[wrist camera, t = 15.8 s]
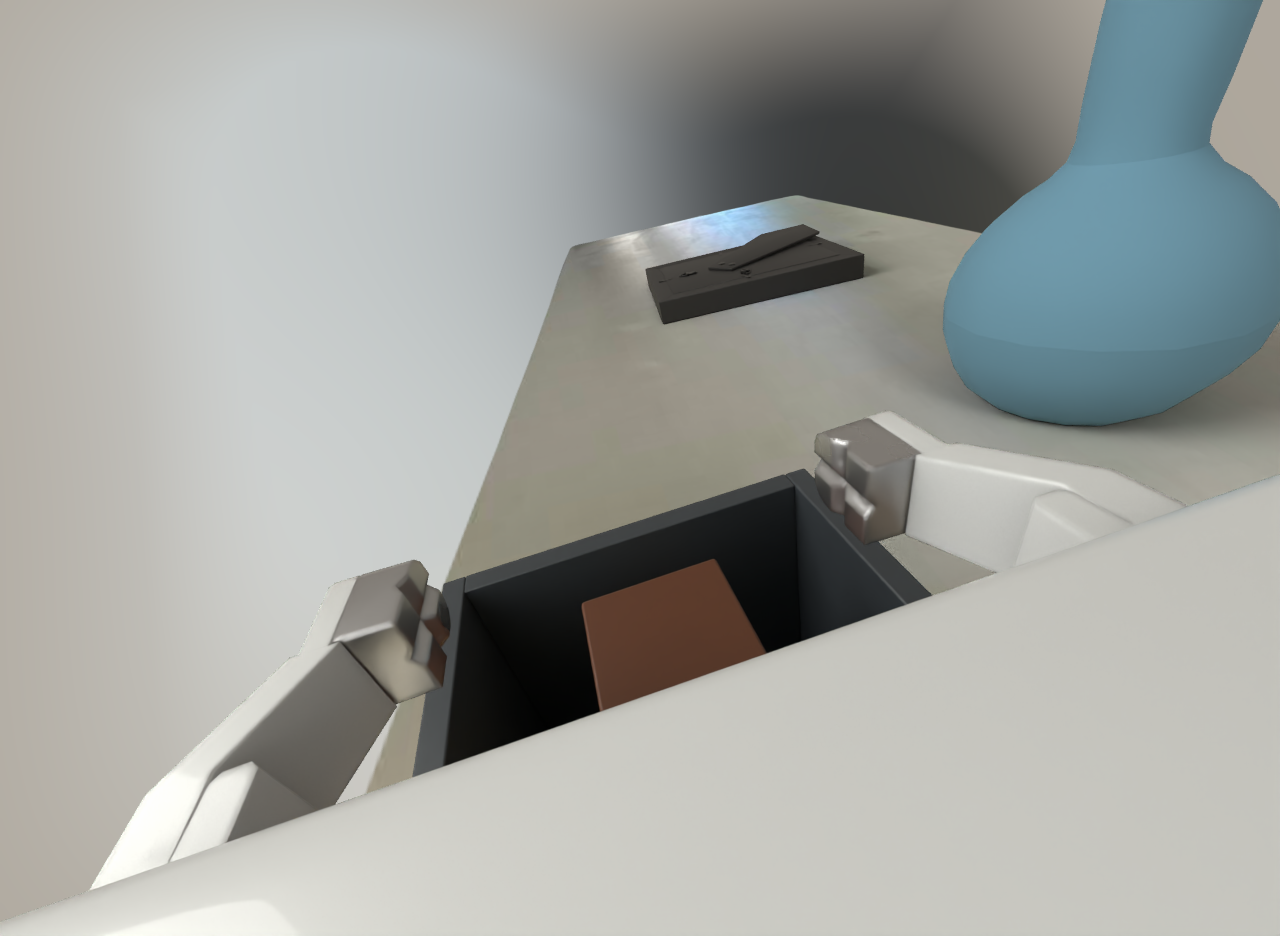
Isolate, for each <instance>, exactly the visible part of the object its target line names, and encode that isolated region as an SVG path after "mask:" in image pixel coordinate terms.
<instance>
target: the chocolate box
mask: <svg viewBox="0 0 1280 936" xmlns="http://www.w3.org/2000/svg"><path fill="white" fill-rule="evenodd" d="M582 612H583V618H584V624H585V629H586V635H587V641H588V646H589V652H590V658H591V664H592V669H593V675H594V681H595V687H596V692H597V698H598V704H599V709H600V712H601V711H604V710H607V709H610V708H612V707H615V706H618V705H621V704H624V703H627V702H630V701H632V700H635V699H638V698H641V697H644V696H647V695H650V694H652V693H655V692H658V691H661V690H664V689H667V688H670V687H672V686H675V685H678V684H681V683H684V682H687V681H690V680H692V679H695V678H698V677H701V676H704V675H707V674H710V673H712V672H715V671H718V670H721V669H724V668H727V667H730V666H732V665H735V664H738V663H741V662H744V661H747V660H749V659H752V658H755V657H758V656H761V655H764V654H767V652H766V650H765V649H764V647H763V645H762V643H761V641H760V639H759V638H758V636H757V634H756V632H755V630H754V628H753V627H752V625H751V623H750V621H749V619H748V617H747V616H746V614H745V612H744V610H743V608H742V607H741V605H740V603H739V601H738V599H737V597H736V596H735V594H734V592H733V590H732V588H731V586H730V585H729V583H728V581H727V579H726V577H725V575H724V574H723V572H722V570H721V568H720V566H719V564H718V563H717V561H716V560H715V559H711V560H708V561H705V562H702V563H699V564H696V565H693V566H690V567H687V568H684V569H681V570H678V571H675V572H672V573H669V574H666V575H663V576H660V577H657V578H654V579H651V580H649V581H646V582H643V583H640V584H637V585H634V586H631V587H628V588H625V589H622V590H619V591H616V592H613V593H610V594H607V595H604V596H601V597H598V598H595V599H592V600H589V601H586V602H584V603H582Z"/></svg>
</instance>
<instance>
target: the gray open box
mask: <svg viewBox="0 0 1280 936" xmlns="http://www.w3.org/2000/svg"><path fill="white" fill-rule="evenodd" d="M711 559H715V560H716V561H717V563H718V564H719V566H720V568H721V570H722V572H723V574H724V575H725V577H726V579H727V581H728V583H729V585H730V586H731V588H732V590H733V592H734V594H735V596H736V597H737V599H738V601H739V603H740V605H741V607H742V608H743V610H744V612H745V614H746V616H747V617H748V619H749V621H750V623H751V625H752V627H753V628H754V630H755V632H756V634H757V636H758V638H759V639H760V641H761V643H762V645H763V647H764V649H765V650H766V652H767V653H770V652H772V651H775V650H778V649H781V648H784V647H787V646H790V645H792V644H795V643H798V642H801V641H804V640H807V639H810V638H812V637H815V636H818V635H821V634H824V633H827V632H830V631H832V630H835V629H838V628H841V627H844V626H847V625H850V624H852V623H855V622H858V621H861V620H864V619H867V618H870V617H873V616H875V615H878V614H881V613H884V612H887V611H890V610H893V609H895V608H898V607H901V606H904V605H907V604H910V603H913V602H915V601H918V600H921V599H924V598H927V597H930V596H932V595H931V594H930V593H929V592H928V591H927V590H926V589H925V588H924V587H923V586H922V585H921V584H920V583H919V582H918V581H917V580H916V579H915V578H914V577H913V576H912V575H911V574H910V573H909V572H908V571H907V570H906V569H905V568H904V567H903V566H902V565H901V564H900V563H899V562H898V561H897V560H896V559H895V558H894V557H893V556H892V555H891V554H890V553H889V552H888V551H887V550H886V549H885V548H884V547H883V546H882V545H881V544H880V543H879V542H878V541H877V542H874V543H871V544H867V545H864V544H863V543H862V542H861V541H860V540H859V539H858V538H857V537H856V536H855V535H854V534H853V533H852V532H851V531H850V530H849V529H848V528H847V527H846V526H845V525H844V515H842V514H838V513H835V512H832V511H831V510H830V509H829V508H828V507H827V506H826V505H825V504H824V502H823V501H822V499H821V497H820V496H819V493H818V490H817V487H816V484H815V479H814V478H813V477H812V476H811V475H810V474H809V473H808V472H807V471H806V470H805V469H801V470H797V471H794V472H791V473H788V474H786V476H785V475H781V476H777V477H774V478H771V479H768V480H765V481H762V482H759V483H756V484H753V485H749V486H746V487H743V488H740V489H737V490H734V491H731V492H728V493H724V494H721V495H718V496H715V497H712V498H709V499H706V500H703V501H700V502H696V503H693V504H690V505H687V506H684V507H681V508H678V509H675V510H671V511H668V512H665V513H662V514H659V515H656V516H653V517H650V518H647V519H643V520H640V521H637V522H634V523H631V524H628V525H625V526H622V527H619V528H615V529H612V530H609V531H606V532H603V533H600V534H597V535H594V536H590V537H587V538H584V539H581V540H578V541H575V542H572V543H569V544H566V545H562V546H559V547H556V548H553V549H550V550H547V551H544V552H541V553H538V554H534V555H531V556H528V557H525V558H522V559H519V560H516V561H513V562H509V563H506V564H503V565H500V566H497V567H494V568H491V569H488V570H485V571H481V572H478V573H475V574H472V575H469V576H467V577H466V578H465V577H463V578H460V579H457V580H454V581H451V582H447V583H445V584H444V585H443V591H442V595H443V597H444V598H445V601H446V603H447V606H448V609H449V614H450V621H451V628H450V637H449V638H448V639H447V641H446V642H445V643H444V645H443V646H442V647H441V648H442V650H443V651H444V652H445V654H446V655H447V660H446V668H445V675H444V682H443V687H442V688H439V689H436V690H434V691H431V692H428V693H426V696H425V702H424V708H423V715H422V721H421V727H420V733H419V739H418V746H417V752H416V758H415V764H414V770H413V776H412V777H415V776H418V775H421V774H424V773H427V772H430V771H432V770H435V769H438V768H441V767H444V766H447V765H450V764H452V763H455V762H458V761H461V760H464V759H467V758H470V757H472V756H475V755H478V754H481V753H484V752H487V751H490V750H492V749H495V748H498V747H501V746H504V745H507V744H510V743H512V742H515V741H518V740H521V739H524V738H527V737H530V736H532V735H535V734H538V733H541V732H544V731H547V730H550V729H552V728H555V727H558V726H561V725H564V724H567V723H570V722H572V721H575V720H578V719H581V718H584V717H587V716H590V715H592V714H595V713H598V712H600V709H599V704H598V698H597V692H596V687H595V681H594V675H593V669H592V664H591V658H590V652H589V646H588V641H587V635H586V629H585V624H584V618H583V612H582V603H584V602H586V601H589V600H592V599H595V598H598V597H601V596H604V595H607V594H610V593H613V592H616V591H619V590H622V589H625V588H628V587H631V586H634V585H637V584H640V583H643V582H646V581H649V580H651V579H654V578H657V577H660V576H663V575H666V574H669V573H672V572H675V571H678V570H681V569H684V568H687V567H690V566H693V565H696V564H699V563H702V562H705V561H708V560H711Z"/></svg>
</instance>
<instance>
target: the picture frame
mask: <svg viewBox="0 0 1280 936" xmlns="http://www.w3.org/2000/svg"><path fill="white" fill-rule="evenodd" d="M817 234H819V231H817V230H815V229H812V228H810V227H808V226H806V225H804V224H802V225H798V226H794V227H790V228H786V229H782V230H777V231H773V232H769V233H765V234H761V235H759V236H758V237H756V238H755V239H753V240H751V241H750V242H748V243H747V244H745V245H743V246H739V247H735V248H731V249H726V250H722V251H718V252H714V253H710V254H706V255H701V256H697V257H693V258H689V259H685V260H681V261H676V262H672V263H668V264H664V265H660V266H656V267H652V268H647V269H645V270H646V275H647V280H648V285H649V288H650V291H651V293H652V296H653V299H654V301H655V304H656V306H657V309H658V312H659V314H660V317H661V320H662V322H663V324H666V323H670V322H674V321H678V320H683V319H687V318H691V317H696V316H700V315H704V314H708V313H713V312H717V311H721V310H726V309H730V308H734V307H738V306H743V305H747V304H751V303H756V302H760V301H764V300H768V299H773V298H777V297H781V296H786V295H790V294H794V293H798V292H803V291H807V290H811V289H816V288H820V287H824V286H828V285H833V284H837V283H841V282H846V281H850V280H854V279H858V278H863V271H864V254H862V253H860V252H857V251H855V250H852V249H849V248H847V247H844V246H841V245H839V244H836V243H833V242H831V241H828V240H825V239H823V238H820V237H817V236H815V235H817Z"/></svg>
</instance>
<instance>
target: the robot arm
mask: <svg viewBox="0 0 1280 936" xmlns="http://www.w3.org/2000/svg"><path fill="white" fill-rule="evenodd" d="M814 452H815V453H816V454H817V455H818V456H819V457H820V458H821V460H820V462H819V463H818V465H817V467H816V468H815V484H816V487H817V490H818V493H819V496H820V497H821V499H822V501H823V502H824V504H825V505H826V506H827V507H828V508H829V509H830V510H831V511H832V512H835V513H838V514H842V515H844V525H845V526H846V527H847V528H848V529H849V530H850V531H851V532H852V533H853V534H854V535H855V536H856V537H857V538H858V539H859V540H860V541H861V542H862V543H863V544H864V545H867V544H871V543H874V542H877V541H880V540H884V539H887V538H890V537H893V536H897V535H900V534H903V533H905V535H907V536H909V537H912V538H914V539H916V540H919V541H921V542H923V543H926V544H928V545H931V546H933V547H935V548H938V549H940V550H943V551H945V552H947V553H950V554H952V555H955V556H957V557H959V558H962V559H964V560H967V561H969V562H971V563H974V564H976V565H978V566H981V567H983V568H986V569H988V570H990V571H993V572H995V574H993V575H990V576H987V577H984V578H981V579H978V580H975V581H973V582H970V583H967V584H964V585H961V586H958V587H955V588H953V589H950V590H947V591H944V592H941V593H938V594H935V595H933V596H930V597H927V598H924V599H921V600H918V601H915V602H913V603H910V604H907V605H904V606H901V607H898V608H895V609H893V610H890V611H887V612H884V613H881V614H878V615H875V616H873V617H870V618H867V619H864V620H861V621H858V622H855V623H852V624H850V625H847V626H844V627H841V628H838V629H835V630H832V631H830V632H827V633H824V634H821V635H818V636H815V637H812V638H810V639H807V640H804V641H801V642H798V643H795V644H792V645H790V646H787V647H784V648H781V649H778V650H775V651H772V652H770V653H767V654H764V655H761V656H758V657H755V658H752V659H749V660H747V661H744V662H741V663H738V664H735V665H732V666H730V667H727V668H724V669H721V670H718V671H715V672H712V673H710V674H707V675H704V676H701V677H698V678H695V679H692V680H690V681H687V682H684V683H681V684H678V685H675V686H672V687H670V688H667V689H664V690H661V691H658V692H655V693H652V694H650V695H647V696H644V697H641V698H638V699H635V700H632V701H630V702H627V703H624V704H621V705H618V706H615V707H612V708H610V709H607V710H604V711H601V712H598V713H595V714H592V715H590V716H587V717H584V718H581V719H578V720H575V721H572V722H570V723H567V724H564V725H561V726H558V727H555V728H552V729H550V730H547V731H544V732H541V733H538V734H535V735H532V736H530V737H527V738H524V739H521V740H518V741H515V742H512V743H510V744H507V745H504V746H501V747H498V748H495V749H492V750H490V751H487V752H484V753H481V754H478V755H475V756H472V757H470V758H467V759H464V760H461V761H458V762H455V763H452V764H450V765H447V766H444V767H441V768H438V769H435V770H432V771H430V772H427V773H424V774H421V775H418V776H415V777H412V778H410V779H407V780H404V781H401V782H398V783H395V784H392V785H390V786H387V787H384V788H381V789H378V790H375V791H372V792H370V793H367V794H364V795H361V796H358V797H355V798H352V799H350V800H347V801H344V802H341V803H338V804H336V802H337V800H338V799H339V797H340V795H341V794H342V792H343V791H344V789H345V788H346V786H347V785H348V783H349V781H350V780H351V778H352V777H353V775H354V774H355V772H356V770H357V769H358V767H359V766H360V764H361V763H362V761H363V759H364V757H365V756H366V755H367V753H368V751H369V750H370V748H371V747H372V745H373V744H374V742H375V740H376V738H377V737H378V736H379V734H380V732H381V731H382V729H383V728H384V726H385V725H386V723H387V721H388V720H389V718H390V717H391V715H392V714H393V712H394V710H395V709H396V707H397V706H396V705H395V704H398V703H401V702H404V701H406V700H409V699H412V698H415V697H417V696H420V695H423V694H425V693H428V692H431V691H434V690H436V689H439V688H442V687H443V682H444V675H445V668H446V660H447V655H446V654H445V652H444V651H443V650H442V648H441V647H442V646H443V645H444V643H445V642H446V641H447V639H448V638H449V637H450V628H451V621H450V614H449V609H448V606H447V603H446V601H445V598H444V597H443V595H442V594H441V592H440V590H438V589H436V588H433V587H431V586H429V585H427V580H428V576H429V573H428V572H427V570H426V569H425V568H424V567H423V565H422V563H421V562H420V561H416V560H411V561H407V562H404V563H401V564H397V565H394V566H391V567H387V568H383V569H380V570H377V571H373V572H370V573H367V574H363V575H361V576H356V577H353V578H350V579H347V580H344V581H340V582H337V583H335V584H334V585H332V586H330V587H329V588H328V590H327V593H326V595H325V597H324V600H323V602H322V604H321V606H320V609H319V611H318V613H317V615H316V617H315V620H314V622H313V624H312V626H311V628H310V631H309V633H308V635H307V637H306V640H305V642H304V644H303V646H302V649H301V651H300V653H299V655H296V656H294V657H291V658H289V659H288V660H287V661H286V662H285V663H283V664H282V665H281V666H280V667H279V668H278V669H277V670H276V671H275V672H274V673H273V674H272V675H271V676H270V677H269V678H268V679H267V680H266V681H265V682H264V683H262V684H261V685H260V686H259V687H258V688H257V689H256V690H255V691H254V692H253V693H252V694H251V695H250V696H249V697H248V698H247V699H246V700H245V701H244V702H243V703H241V705H239V706H238V707H237V708H236V709H235V710H234V711H233V712H232V713H231V714H230V715H229V716H228V717H227V718H226V719H225V720H224V721H223V722H222V723H220V724H219V725H218V726H217V727H216V728H215V729H214V730H213V731H212V732H211V733H210V734H209V735H208V736H207V737H206V738H205V739H204V740H203V741H202V742H201V743H199V744H198V745H197V746H196V747H195V748H194V749H193V750H192V751H191V752H190V753H189V754H188V755H187V756H186V757H185V758H184V759H183V760H182V761H181V762H180V763H179V764H177V765H176V766H175V767H174V768H173V769H172V770H171V771H170V772H169V773H168V774H167V775H166V776H165V777H164V778H163V779H162V780H161V781H160V782H159V783H157V785H155V786H154V787H153V788H152V789H151V790H150V791H149V792H148V793H147V794H146V795H145V797H144V799H143V800H142V802H141V804H140V805H139V807H138V809H137V810H136V812H135V814H134V815H133V817H132V819H131V820H130V822H129V824H128V825H127V827H126V829H125V830H124V833H123V834H122V836H121V837H120V839H119V841H118V842H117V844H116V846H115V847H114V849H113V851H112V852H111V854H110V856H109V858H108V859H107V861H106V863H105V864H104V866H103V868H102V869H101V871H100V873H99V874H98V876H97V878H96V879H95V881H94V883H93V885H92V886H91V888H90V890H89V891H87V892H84V893H81V894H78V895H76V896H73V897H70V898H67V899H64V900H61V901H58V902H55V903H53V904H50V905H47V906H44V907H41V908H38V909H36V910H33V911H30V912H27V913H24V914H21V915H18V916H15V917H13V918H10V919H7V920H4V921H1V922H0V936H1280V474H1278V475H1275V476H1273V477H1270V478H1267V479H1264V480H1261V481H1258V482H1255V483H1253V484H1250V485H1247V486H1244V487H1241V488H1238V489H1235V490H1233V491H1230V492H1227V493H1224V494H1221V495H1218V496H1215V497H1213V498H1210V499H1207V500H1204V501H1201V502H1198V503H1195V504H1193V505H1190V506H1188V505H1186V504H1184V503H1182V502H1180V501H1178V500H1176V499H1174V498H1172V497H1170V496H1168V495H1165V494H1163V493H1161V492H1159V491H1157V490H1155V489H1153V488H1151V487H1149V486H1147V485H1145V484H1143V483H1141V482H1139V481H1137V480H1134V479H1132V478H1130V477H1128V476H1126V475H1124V474H1122V473H1120V472H1118V471H1116V470H1114V469H1110V468H1104V467H1098V466H1092V465H1086V464H1080V463H1074V462H1068V461H1062V460H1056V459H1050V458H1044V457H1038V456H1033V455H1027V454H1021V453H1015V452H1009V451H1003V450H997V449H991V448H985V447H979V446H973V445H967V444H961V443H953V444H950V445H948V444H946V443H945V442H943V441H941V440H940V439H938V438H936V437H935V436H933V435H931V434H930V433H928V432H926V431H925V430H923V429H921V428H920V427H918V426H916V425H915V424H913V423H911V422H910V421H908V420H906V419H905V418H903V417H901V416H900V415H898V414H896V413H895V412H893V411H883V412H880V413H877V414H874V415H871V416H868V417H866V418H863V419H862V420H859V421H856V422H853V423H849V424H846V425H843V426H840V427H837V428H834V429H831V430H828V431H825V432H822V433H819V434H817V436H816V439H815V448H814Z"/></svg>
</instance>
